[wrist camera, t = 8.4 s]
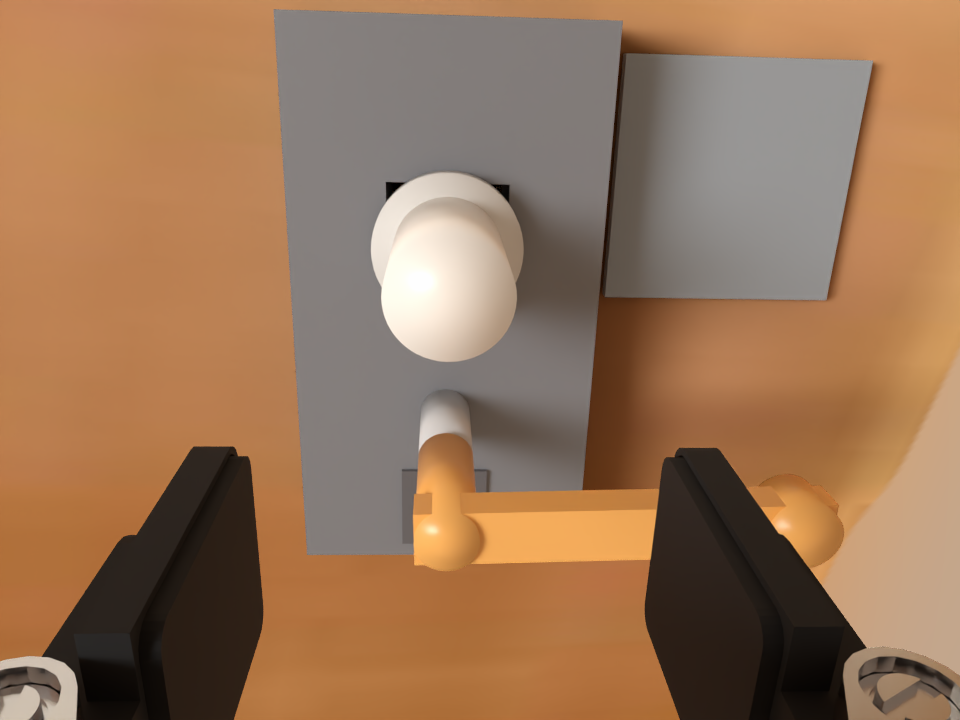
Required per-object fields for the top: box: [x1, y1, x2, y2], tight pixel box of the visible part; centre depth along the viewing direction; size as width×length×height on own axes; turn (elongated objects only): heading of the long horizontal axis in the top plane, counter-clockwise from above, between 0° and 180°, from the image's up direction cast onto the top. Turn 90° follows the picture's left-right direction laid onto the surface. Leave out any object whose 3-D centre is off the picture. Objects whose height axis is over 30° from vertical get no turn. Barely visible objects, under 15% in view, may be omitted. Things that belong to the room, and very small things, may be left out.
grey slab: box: [274, 9, 623, 555], centre depth 31 cm, size 22×12×8 cm, turn 178°
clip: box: [413, 433, 844, 571], centre depth 26 cm, size 13×2×6 cm, turn 90°
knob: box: [371, 170, 524, 362], centre depth 28 cm, size 6×6×11 cm
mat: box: [602, 53, 873, 300], centre depth 33 cm, size 10×10×1 cm
